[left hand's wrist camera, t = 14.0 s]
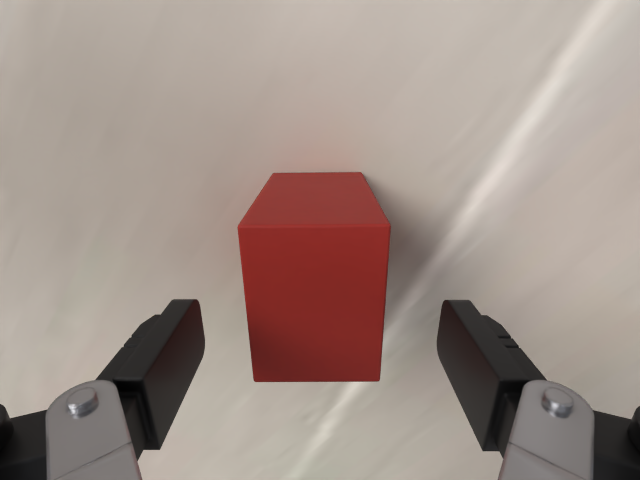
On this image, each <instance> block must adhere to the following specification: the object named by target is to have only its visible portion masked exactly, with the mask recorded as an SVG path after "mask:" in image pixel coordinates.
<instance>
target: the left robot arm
mask: <svg viewBox="0 0 640 480" xmlns="http://www.w3.org/2000/svg"><path fill="white" fill-rule="evenodd" d="M204 349H205V337H204V330H203V323H202V316H201V310H200V304H199V301H198V300H196V299H174V300H172V301H171V302H170V303H169V305H168V306H167V307H166V308H165V310H164V311H163V312H162V314H161V315H154V316H152V317H151V318H149V319H148V320H146V321H145V322H143V323H142V324H141V325H140V326H139V327H138V328H137V330H136V331H135V332H134V333H133V334H132V337H131V338H129V339H128V341H127V342H126V343H125V344H124V347H122V348H121V349H120V350H119V352H118V353H117V354H116V355H115V356H114V358H113V359H112V360H111V361H110V363H109V364H108V365H107V366H106V368H105V369H104V370H103V371H102V372H101V374H100V375H99V376H98V377H97V379H96V380H93V381H89V382H85V383H82V384H79V385H77V386H75V387H73V388H71V389H69V390H67V391H66V392H64V393H63V394H61V395H60V396H59V397H58V398H57V399H55V400H54V401H53V403H52V404H51V405H50V406H49V408H48V410H44V411H40V412H36V413H31V414H27V415H23V416H19V417H14V418H9V415H8V413H7V411H6V408H5V407H4V406H3V405H1V404H0V480H142V477H141V473H140V470H139V466H138V462H137V461H138V459H139V457H140V455H141V453H142V452H143V450H160V448H161V446H162V444H163V442H164V440H165V438H166V435H167V433H168V431H169V429H170V427H171V425H172V422H173V420H174V418H175V416H176V414H177V412H178V410H179V407H180V405H181V403H182V401H183V399H184V397H185V394H186V392H187V390H188V388H189V386H190V384H191V382H192V379H193V377H194V375H195V373H196V371H197V369H198V367H199V364H200V362H201V360H202V358H203V354H204ZM437 351H438V356H439V359H440V361H441V363H442V365H443V368H444V370H445V372H446V374H447V376H448V378H449V380H450V382H451V385H452V387H453V389H454V391H455V393H456V395H457V397H458V399H459V402H460V404H461V406H462V408H463V410H464V412H465V414H466V417H467V419H468V421H469V423H470V425H471V427H472V429H473V431H474V434H475V436H476V438H477V440H478V442H479V444H480V446H481V448H482V451H500V453H501V455H502V457H503V462H502V466H501V470H500V473H499V477H498V480H640V406H639V407H638V408H637V409H636V411H635V413H634V415H633V417H632V419H627V418H623V417H619V416H615V415H610V414H606V413H602V412H598V411H594V410H592V408H591V406H590V405H589V404H588V403H587V401H586V400H585V399H583V398H582V397H581V396H580V395H579V394H577V393H576V392H574V391H573V390H571V389H569V388H567V387H565V386H563V385H561V384H558V383H555V382H551V381H547V380H546V378H545V377H544V376H543V375H542V374H541V372H540V371H539V370H538V369H537V368H536V366H535V365H534V364H533V363H532V362H531V360H530V359H529V358H528V357H527V355H526V354H525V353H524V352H523V351H522V349H521V348H519V347H518V345H517V343H516V342H515V341H514V340H513V339H511V336H510V335H509V334H508V332H507V331H506V330H505V329H504V328H503V326H502V325H501V324H499V323H498V322H496V321H495V320H493V319H492V318H490V317H489V316H487V315H481V314H480V313H479V312H478V310H477V309H476V308H475V306H474V305H473V304H472V302H471V301H469V300H445V301H444V302H443V304H442V309H441V316H440V322H439V329H438V336H437Z"/></svg>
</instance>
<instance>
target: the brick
mask: <svg viewBox="0 0 640 480" xmlns="http://www.w3.org/2000/svg"><path fill="white" fill-rule="evenodd" d="M390 231H391V225H390V223H389V221H388V219H387V218H386V216H385V214H384V212H383V210H382V209H381V207H380V205H379V203H378V201H377V200H376V198H375V196H374V194H373V192H372V190H371V189H370V187H369V185H368V183H367V181H366V180H365V178H364V176H363V174H362V173H361V172H347V173H273V174H272V176H271V177H270V179H269V180H268V182H267V183H266V185H265V186H264V188H263V189H262V191H261V192H260V194H259V195H258V197H257V198H256V200H255V201H254V203H253V204H252V206H251V207H250V209H249V210H248V212H247V213H246V215H245V216H244V218H243V219H242V221H241V222H240V224H239V225H238V236H239V245H240V255H241V264H242V274H243V283H244V293H245V302H246V312H247V321H248V331H249V340H250V350H251V359H252V369H253V378H254V381H255V382H368V381H379V380H380V371H381V357H382V343H383V329H384V315H385V301H386V287H387V273H388V259H389V245H390Z"/></svg>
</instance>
